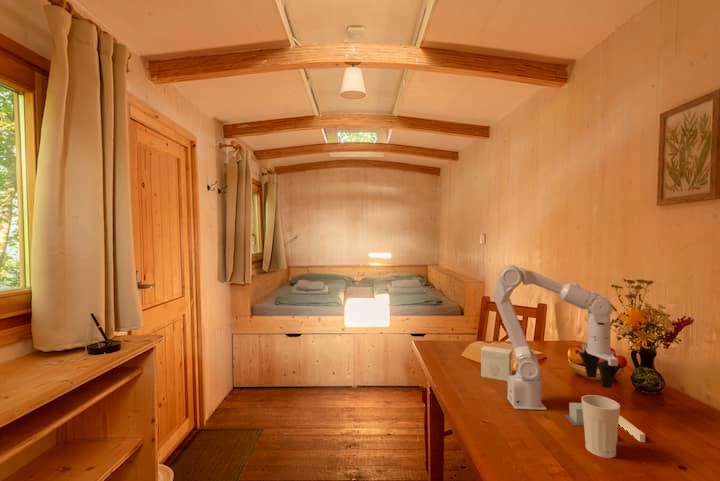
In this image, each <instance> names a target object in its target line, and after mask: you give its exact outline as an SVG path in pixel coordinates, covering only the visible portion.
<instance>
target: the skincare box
mask: <svg viewBox="0 0 720 481" xmlns="http://www.w3.org/2000/svg"><path fill="white" fill-rule="evenodd" d="M511 360H512V361H513V349H509V348H508V349H507V348H503V347H502V348H501V347H495V346H488V345H484V346H483V347H482V348H481V349H480V371H481V372H480V377H482V378H486V379H492V380H498V381H504V382H507V383H508V377H509V376H512V372H511Z"/></svg>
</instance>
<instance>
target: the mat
mask: <svg viewBox="0 0 720 481" xmlns="http://www.w3.org/2000/svg"><path fill="white" fill-rule="evenodd" d="M564 417H565V419H567V420H568V421H569V422H570V423H571V424H572V425H573V426H574V427H584V423H576V422H575V421H574V420H573V419H572V418H571V417H570V416H569V414H564Z"/></svg>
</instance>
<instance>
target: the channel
mask: <svg viewBox="0 0 720 481" xmlns="http://www.w3.org/2000/svg"><path fill="white" fill-rule="evenodd" d="M618 424H619V425H620V426H619V425H618V427H621V428H622V427H623V428H624V429H623V428H622V429H623V430H625V431H626V430H627V431H628V432H629V435H631V436H632V435H633V436H634V437H633V436H632V437H633V438H634V439H636V440H637V441H638V442H640V443H646V434H645V433H644V432H643V431H642V430H640V429H638V428H637V427H636V426H635V425H634V424H632V423H631V422H629V420H627V419H626V418H624V417H623V416H622V415H620V414H619V420H618ZM627 431H626V432H627ZM628 432H627V433H628Z"/></svg>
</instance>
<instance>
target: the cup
mask: <svg viewBox="0 0 720 481" xmlns="http://www.w3.org/2000/svg"><path fill="white" fill-rule="evenodd" d="M581 403H582V408H583V419H584V426H583V428H584V442H585V446H584V447H585V449H586V450H587V451H588V452H590V453H591V454H593V455H595V456H598V457H600V458H605V459H613V458H615V457H616V456H617V442H618V432H619V431H618V429H619V426H618V420H619V415H620V413H621V412H620V410H621V404H620V403H618V401H616V400H613V399H611V398H609V397H606V396H602V395H595V394H586V395H583V396H581Z"/></svg>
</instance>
